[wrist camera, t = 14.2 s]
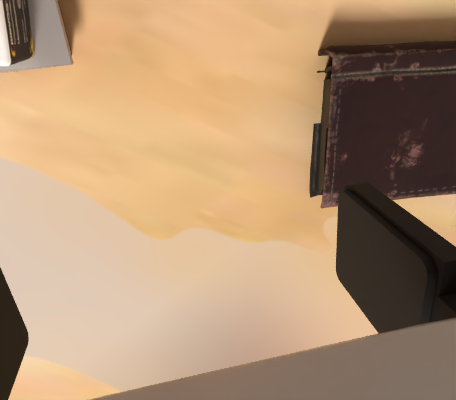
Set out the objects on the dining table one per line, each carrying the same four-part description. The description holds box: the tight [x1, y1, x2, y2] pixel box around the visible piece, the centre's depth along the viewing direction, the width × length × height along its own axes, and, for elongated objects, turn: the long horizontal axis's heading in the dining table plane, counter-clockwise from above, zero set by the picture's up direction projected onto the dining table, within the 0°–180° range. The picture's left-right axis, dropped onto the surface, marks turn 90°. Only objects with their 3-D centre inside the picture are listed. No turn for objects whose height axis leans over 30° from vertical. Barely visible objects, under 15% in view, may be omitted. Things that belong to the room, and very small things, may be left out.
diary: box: [310, 41, 456, 208], centre depth 46 cm, size 19×25×5 cm
